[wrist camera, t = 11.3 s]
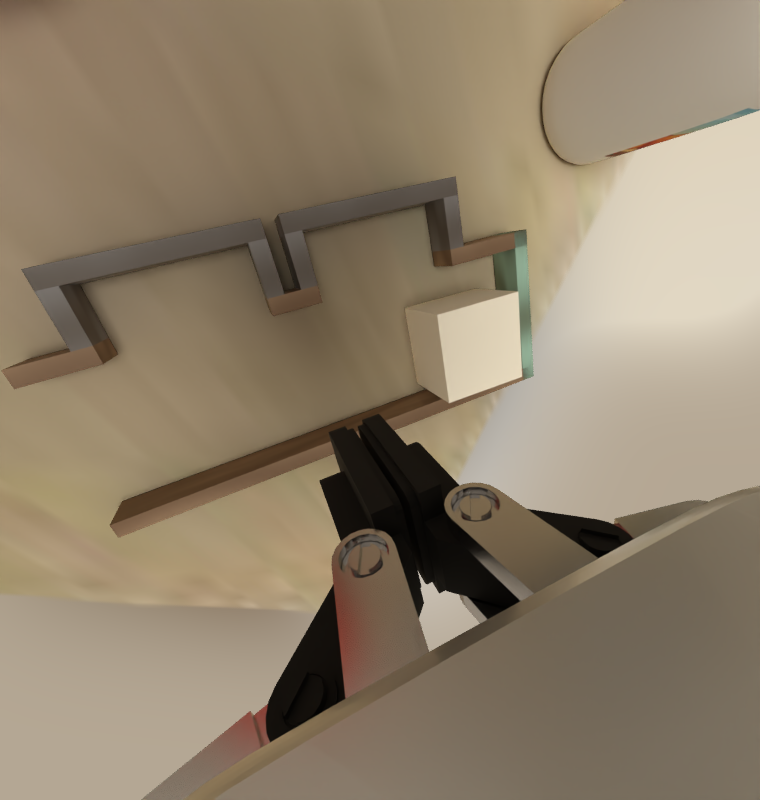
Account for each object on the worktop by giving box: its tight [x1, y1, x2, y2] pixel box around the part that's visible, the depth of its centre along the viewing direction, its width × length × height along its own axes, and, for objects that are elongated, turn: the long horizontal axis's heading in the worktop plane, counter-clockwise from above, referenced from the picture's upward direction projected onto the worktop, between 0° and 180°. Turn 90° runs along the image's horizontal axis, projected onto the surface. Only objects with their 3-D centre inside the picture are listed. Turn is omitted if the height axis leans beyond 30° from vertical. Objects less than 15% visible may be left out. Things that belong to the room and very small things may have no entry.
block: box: [405, 289, 522, 403], centre depth 26 cm, size 6×6×5 cm
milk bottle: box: [542, 0, 760, 165], centre depth 17 cm, size 8×8×20 cm
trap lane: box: [1, 176, 533, 538], centre depth 23 cm, size 15×31×2 cm, turn 104°
